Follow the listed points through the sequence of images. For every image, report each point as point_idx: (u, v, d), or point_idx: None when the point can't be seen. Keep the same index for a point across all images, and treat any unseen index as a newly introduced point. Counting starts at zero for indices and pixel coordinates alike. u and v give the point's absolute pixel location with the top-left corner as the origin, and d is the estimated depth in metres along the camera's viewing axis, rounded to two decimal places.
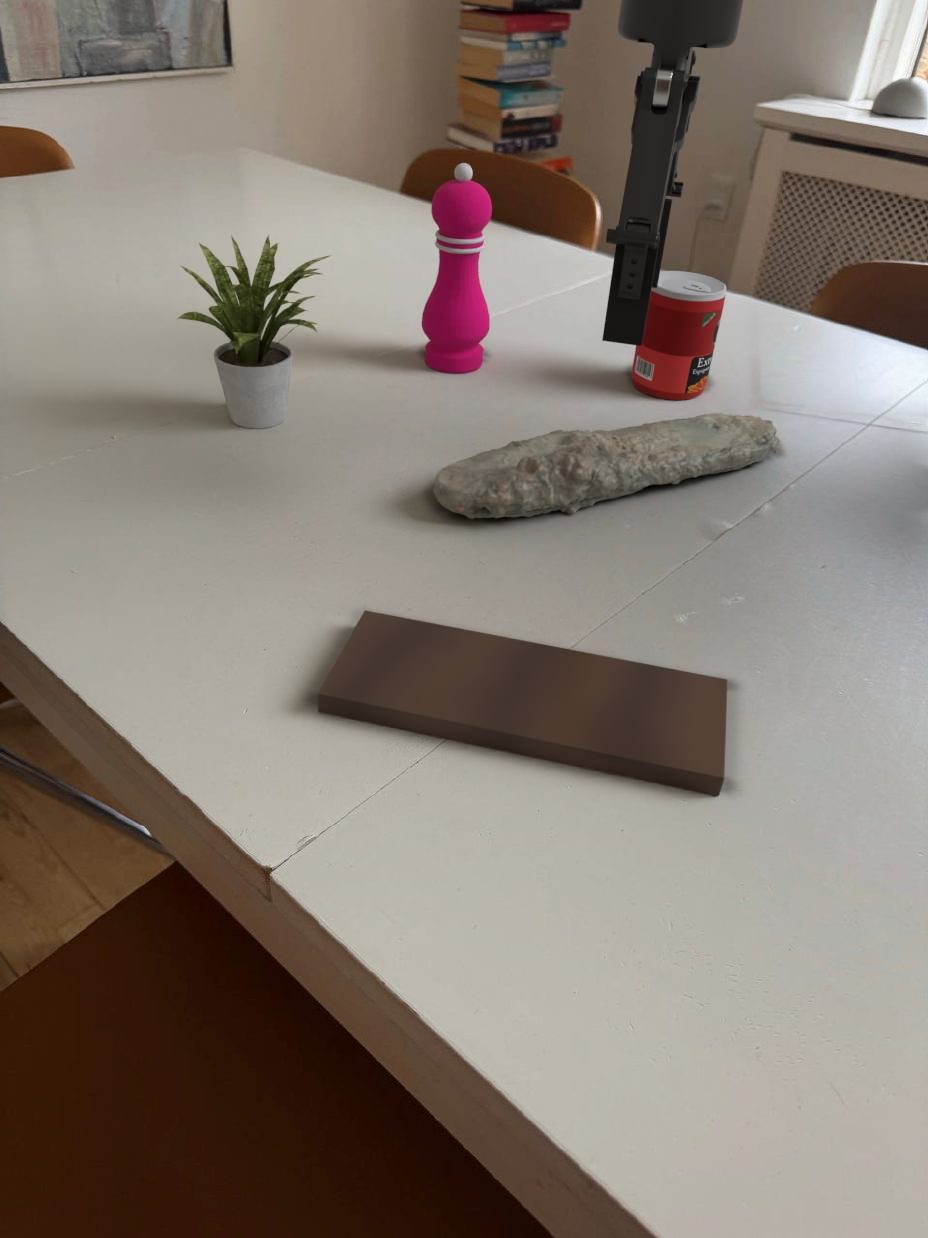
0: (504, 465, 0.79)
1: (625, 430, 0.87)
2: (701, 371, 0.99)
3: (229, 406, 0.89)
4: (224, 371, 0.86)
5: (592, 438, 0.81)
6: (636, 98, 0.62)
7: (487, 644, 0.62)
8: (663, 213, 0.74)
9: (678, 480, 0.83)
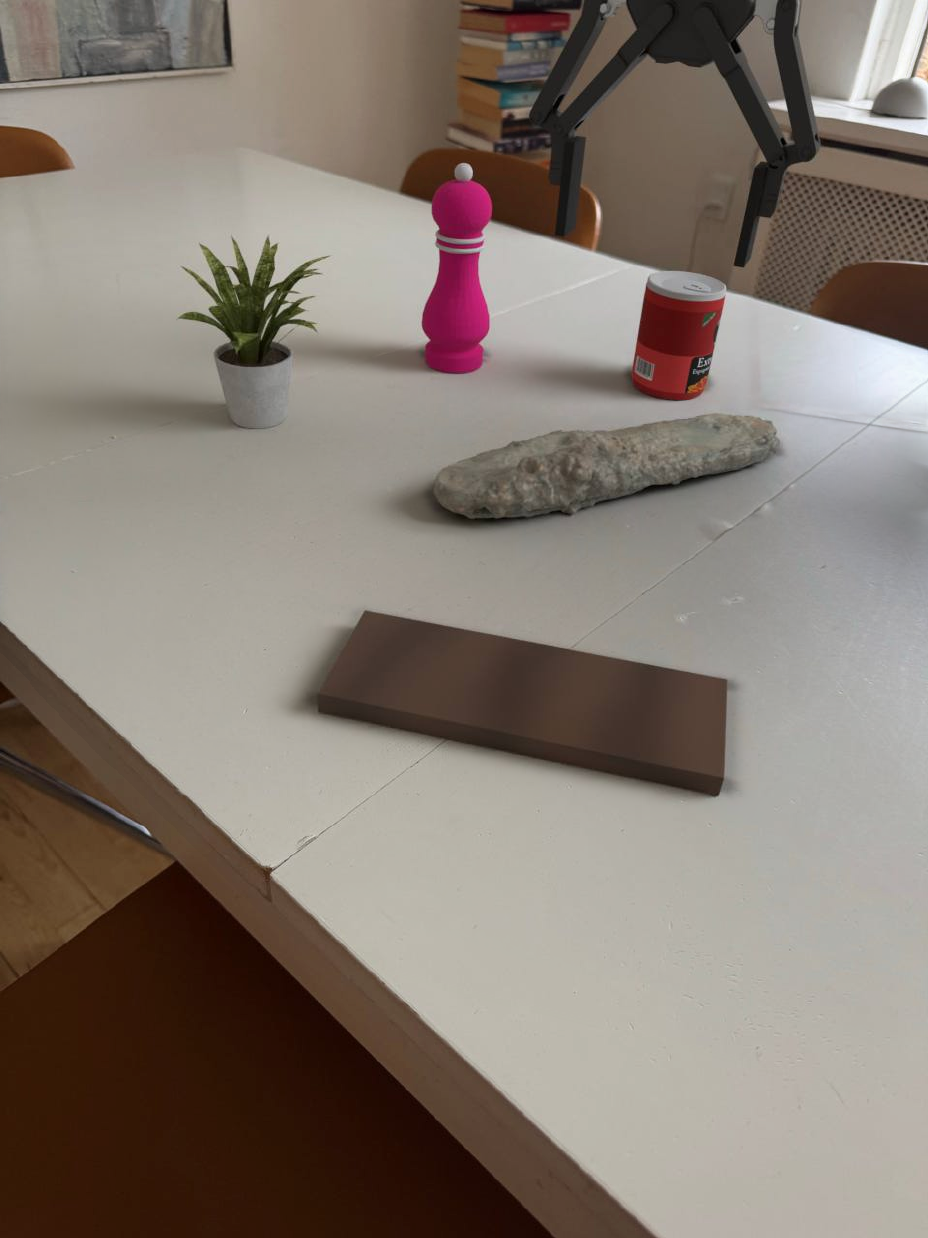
0: (504, 465, 0.79)
1: (625, 430, 0.87)
2: (701, 370, 0.99)
3: (229, 406, 0.89)
4: (224, 371, 0.86)
5: (592, 438, 0.81)
6: (717, 29, 0.62)
7: (487, 644, 0.62)
8: (582, 151, 0.71)
9: (678, 480, 0.83)
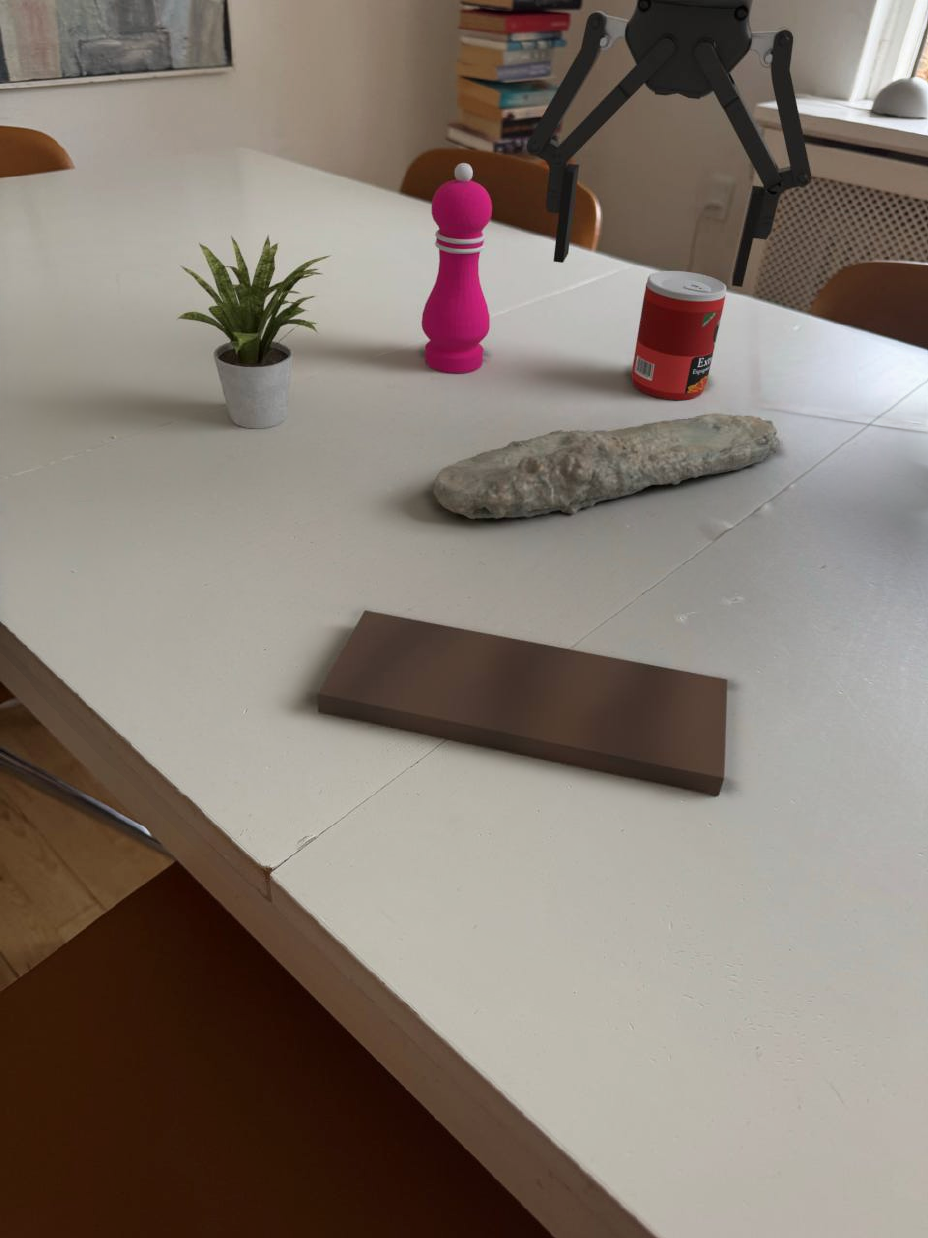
0: (504, 465, 0.79)
1: (625, 430, 0.87)
2: (701, 371, 0.99)
3: (229, 406, 0.89)
4: (224, 371, 0.86)
5: (592, 438, 0.81)
6: (718, 63, 0.64)
7: (487, 644, 0.62)
8: (576, 179, 0.73)
9: (678, 480, 0.83)
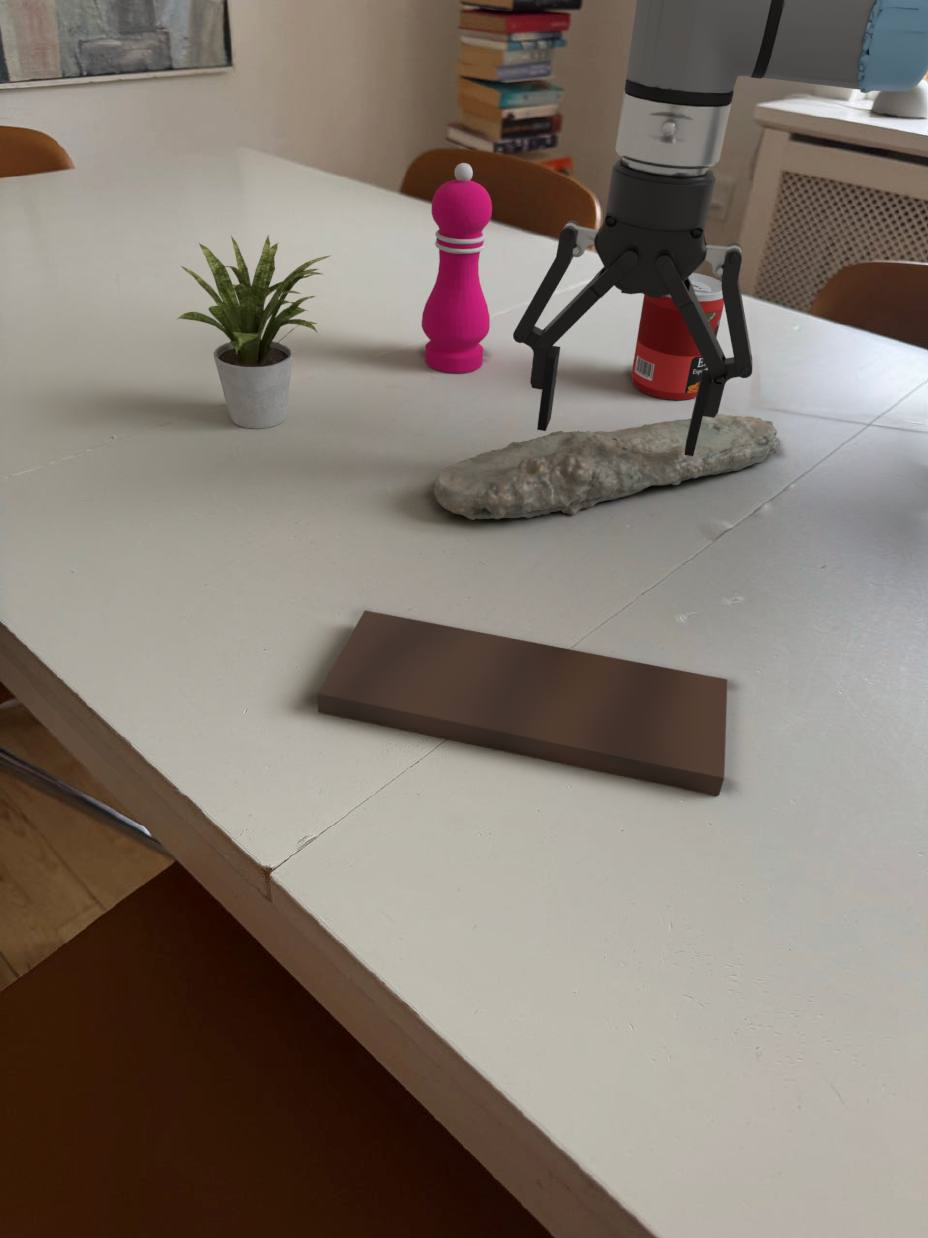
0: (504, 466, 0.79)
1: (625, 431, 0.87)
2: (701, 371, 0.99)
3: (229, 406, 0.89)
4: (224, 371, 0.86)
5: (592, 439, 0.81)
6: (675, 273, 0.72)
7: (487, 644, 0.62)
8: (558, 359, 0.81)
9: (679, 481, 0.83)
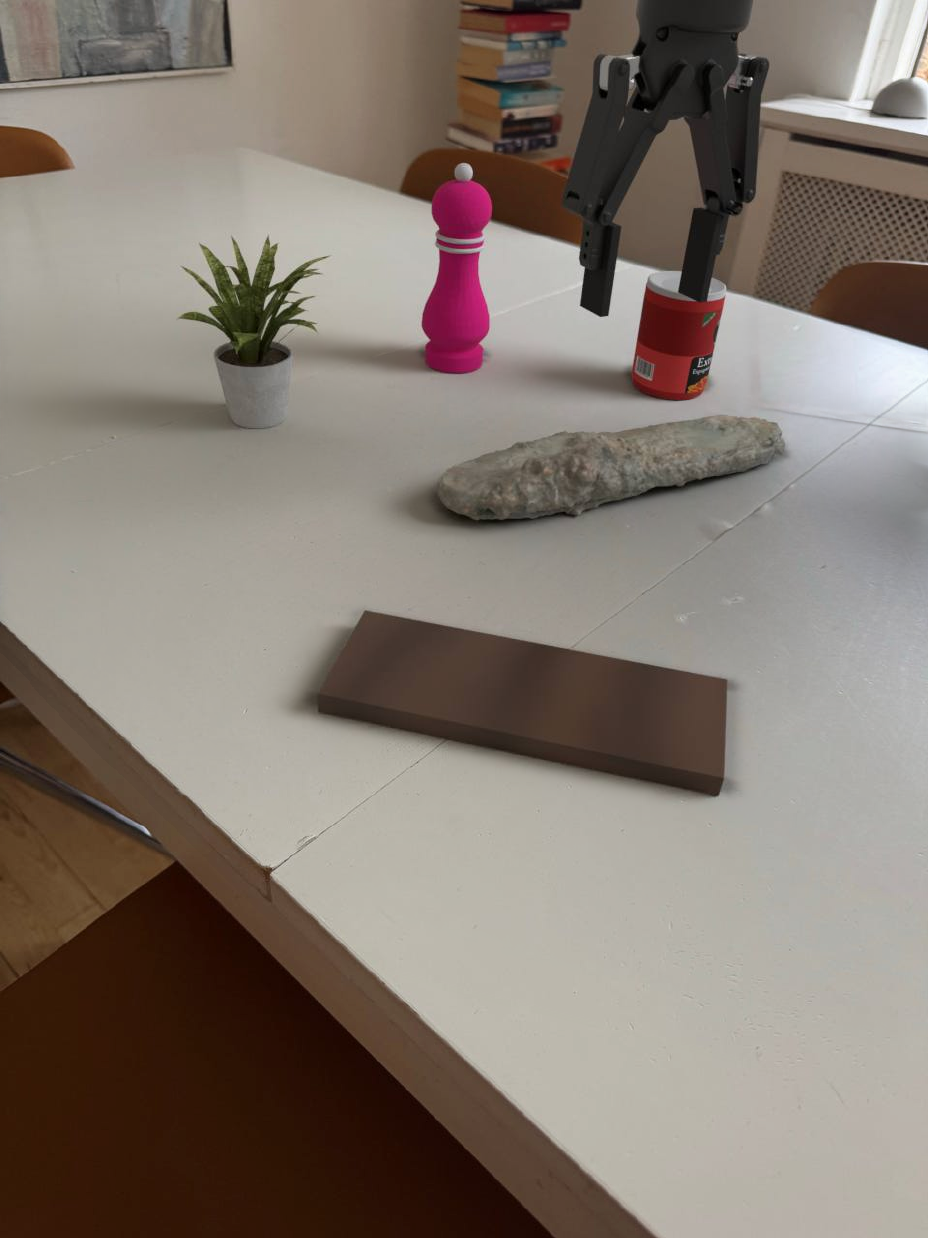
0: (508, 466, 0.79)
1: (630, 432, 0.87)
2: (701, 371, 0.99)
3: (229, 406, 0.89)
4: (224, 371, 0.86)
5: (597, 440, 0.81)
6: (721, 87, 0.67)
7: (487, 644, 0.62)
8: None
9: (683, 482, 0.83)
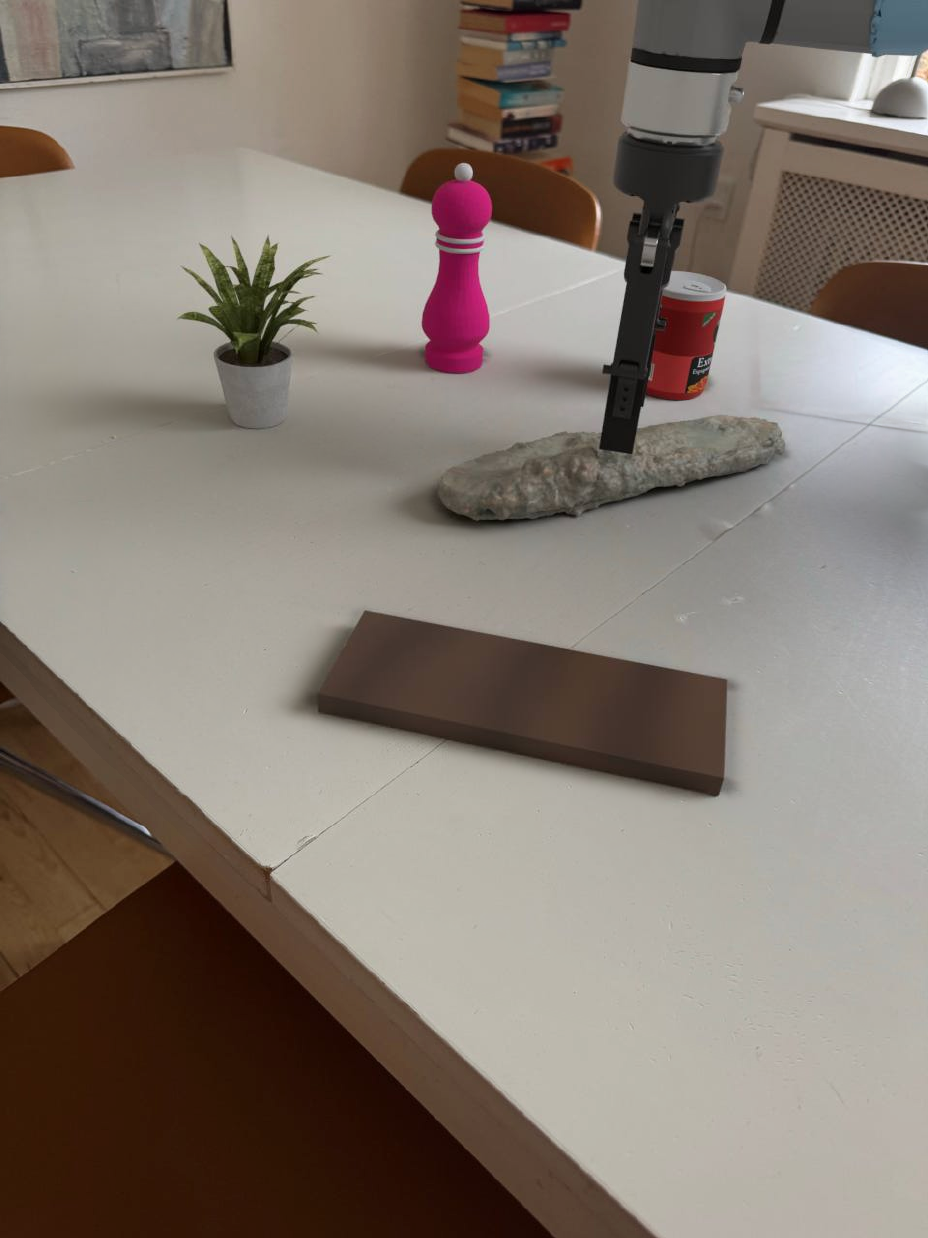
0: (509, 467, 0.79)
1: None
2: (701, 370, 0.99)
3: (229, 406, 0.89)
4: (224, 371, 0.86)
5: (597, 440, 0.81)
6: None
7: (487, 644, 0.62)
8: None
9: (683, 482, 0.83)
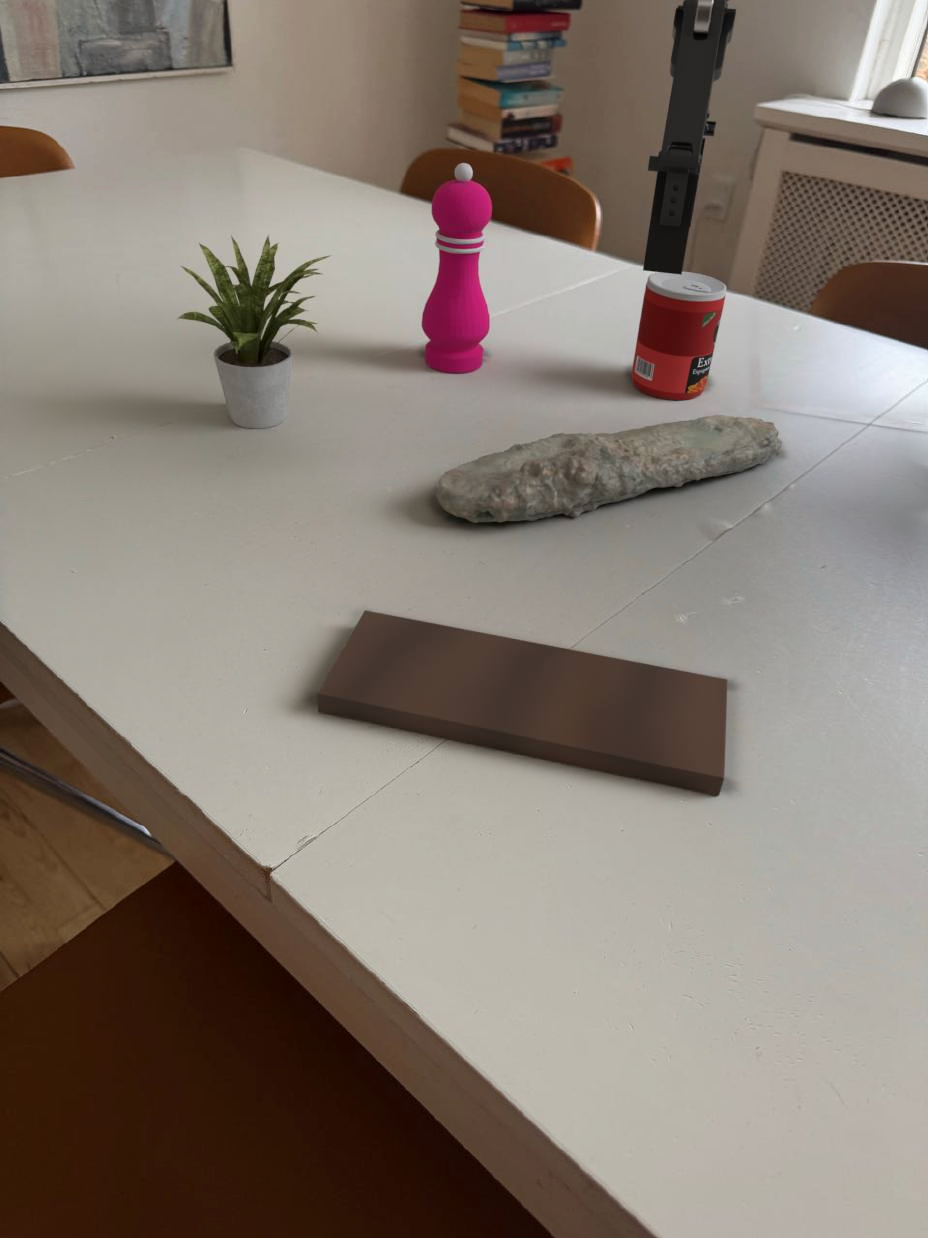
0: (506, 468, 0.79)
1: (627, 433, 0.86)
2: (701, 371, 0.99)
3: (229, 406, 0.89)
4: (224, 371, 0.86)
5: (595, 441, 0.81)
6: None
7: (487, 644, 0.62)
8: None
9: (681, 483, 0.83)
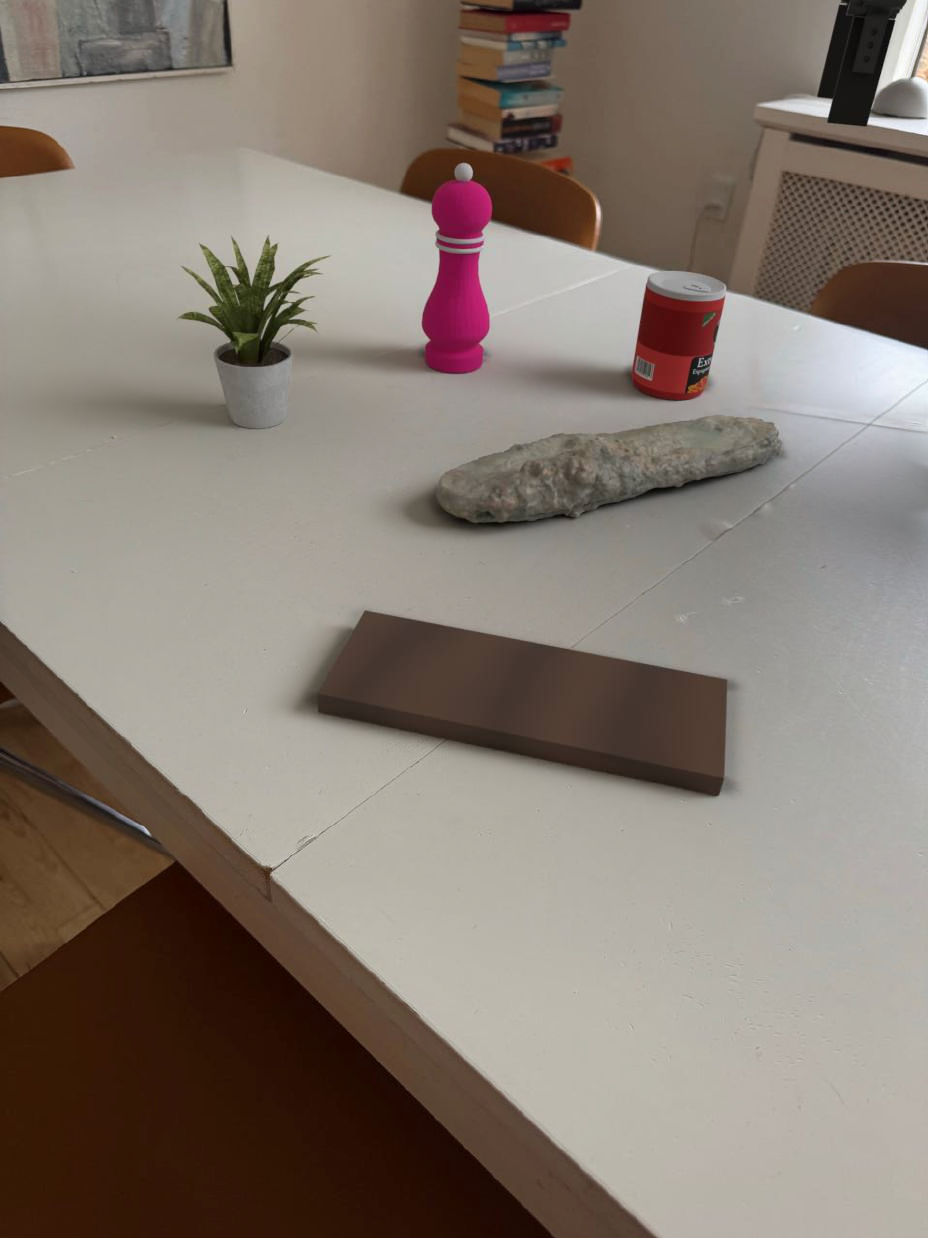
0: (507, 469, 0.79)
1: (627, 433, 0.86)
2: (701, 370, 0.99)
3: (229, 406, 0.89)
4: (224, 371, 0.86)
5: (595, 441, 0.81)
6: None
7: (487, 644, 0.62)
8: None
9: (681, 483, 0.83)
